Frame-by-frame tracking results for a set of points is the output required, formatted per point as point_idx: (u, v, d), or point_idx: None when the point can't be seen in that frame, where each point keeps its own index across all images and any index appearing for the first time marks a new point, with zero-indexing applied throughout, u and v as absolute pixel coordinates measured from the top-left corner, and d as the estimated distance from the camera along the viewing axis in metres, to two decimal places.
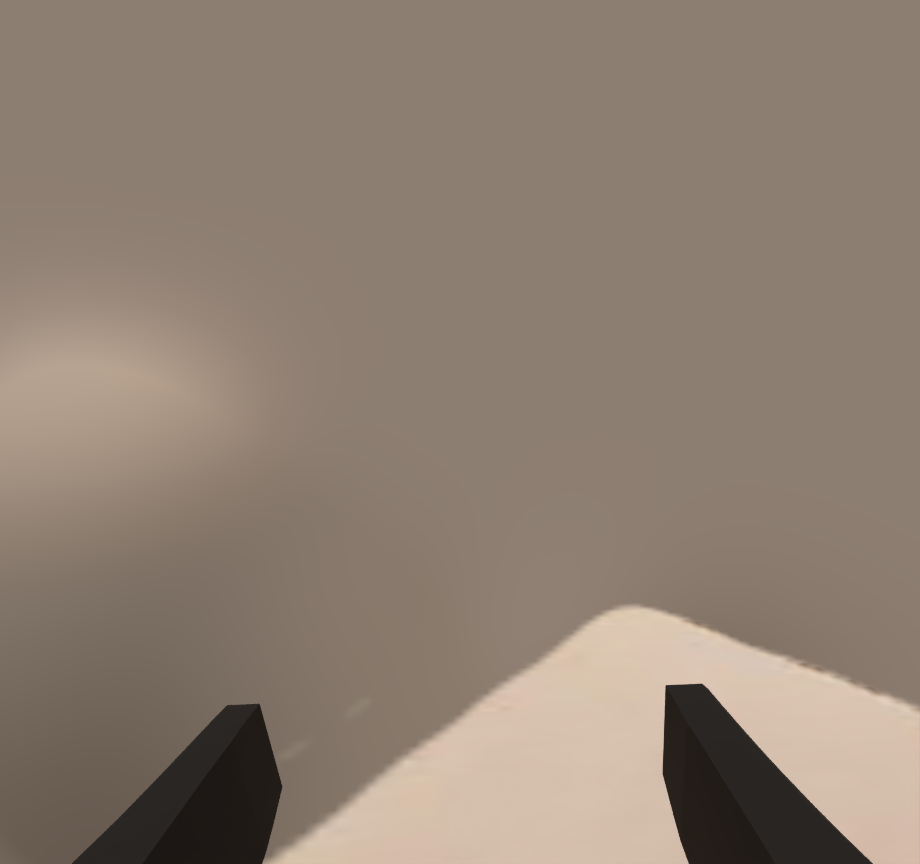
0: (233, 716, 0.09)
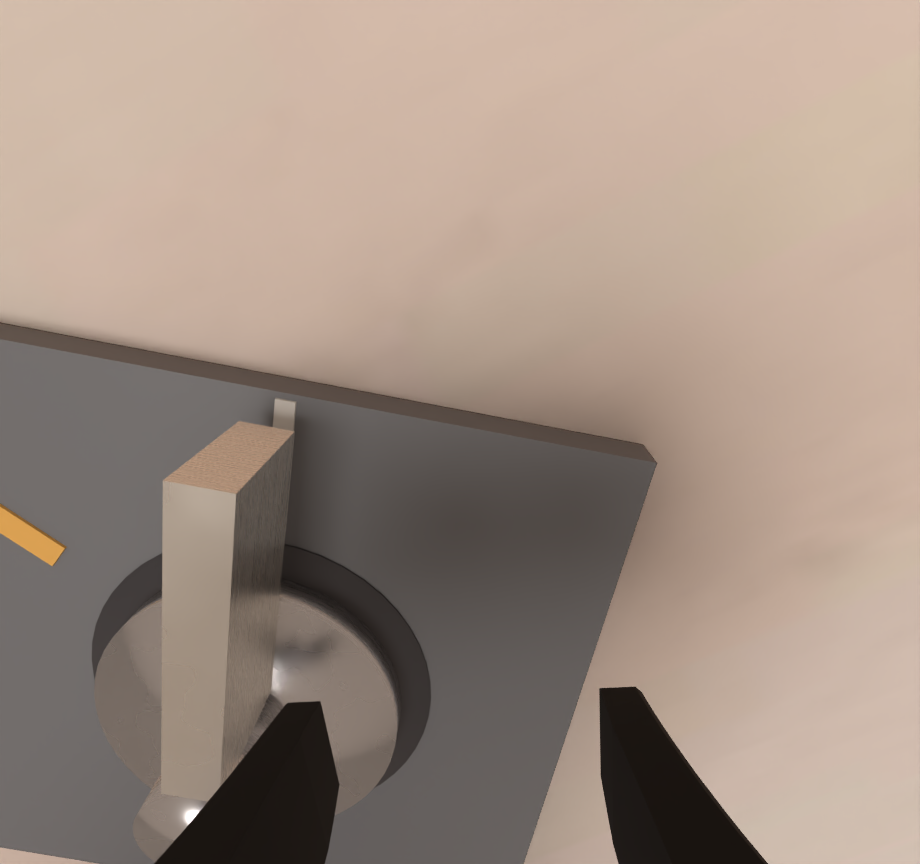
0: (296, 714, 0.09)
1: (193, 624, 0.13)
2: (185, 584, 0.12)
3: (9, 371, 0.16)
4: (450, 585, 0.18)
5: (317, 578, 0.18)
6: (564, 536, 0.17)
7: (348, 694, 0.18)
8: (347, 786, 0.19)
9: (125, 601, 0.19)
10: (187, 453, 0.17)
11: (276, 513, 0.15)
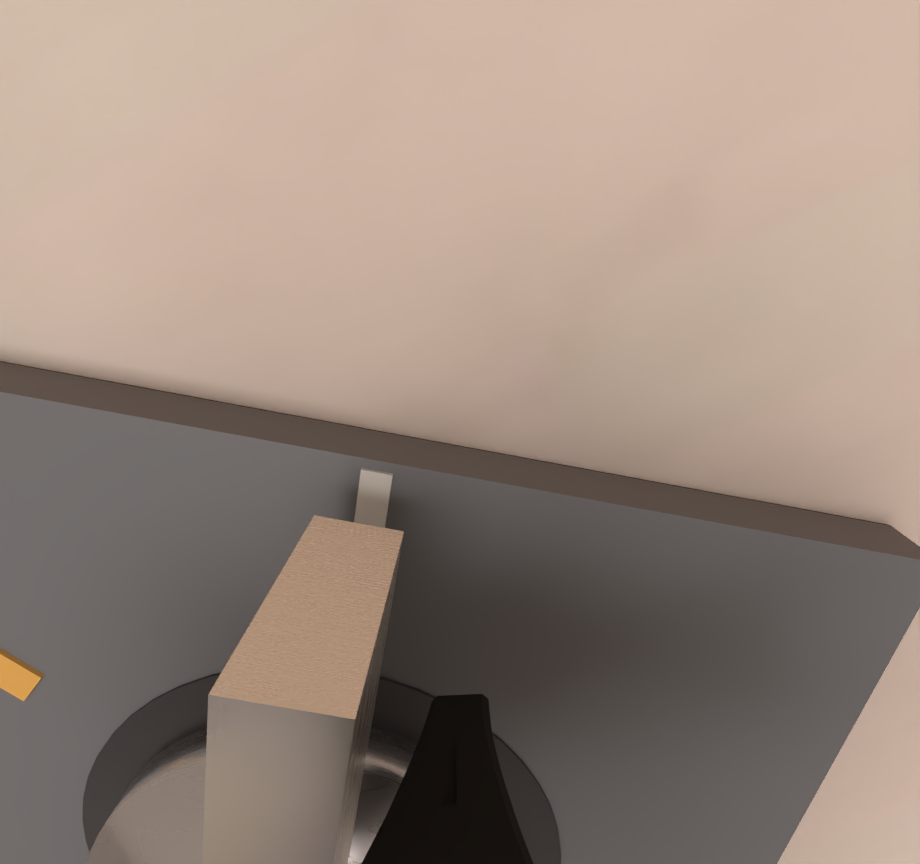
0: (453, 707, 0.09)
1: None
2: (246, 862, 0.07)
3: None
4: (603, 729, 0.12)
5: (410, 720, 0.12)
6: (782, 665, 0.12)
7: None
8: None
9: (130, 747, 0.13)
10: (223, 547, 0.11)
11: (378, 669, 0.09)
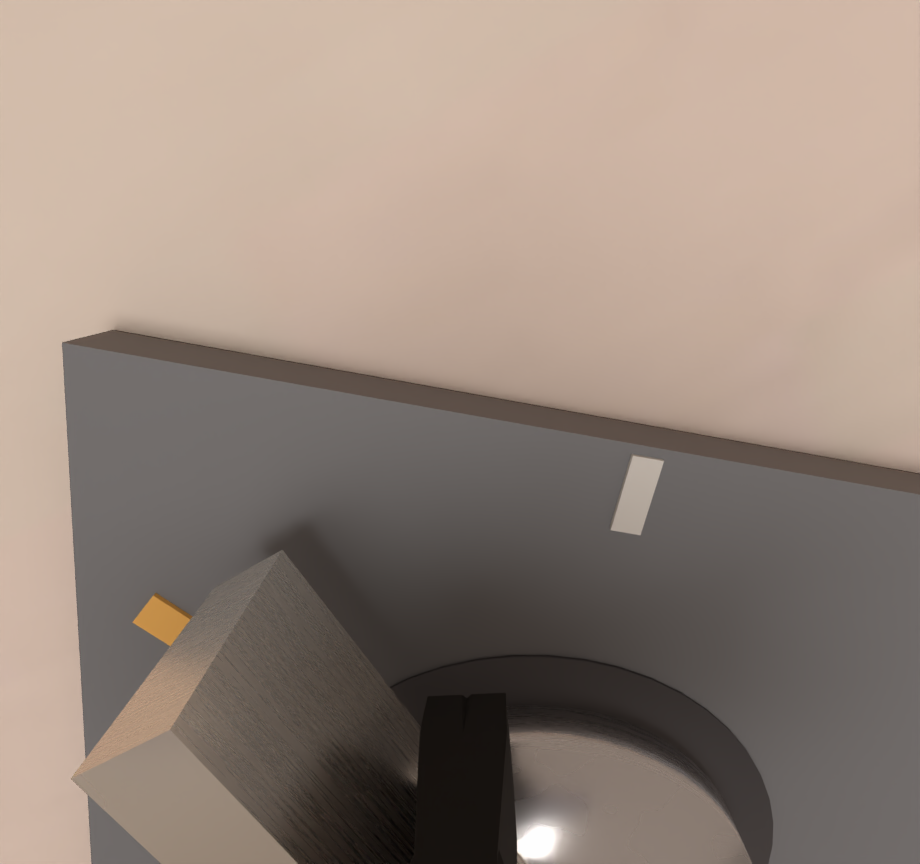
0: (489, 706, 0.09)
1: None
2: None
3: (221, 418, 0.11)
4: (833, 716, 0.13)
5: (641, 709, 0.12)
6: None
7: (625, 815, 0.12)
8: None
9: None
10: (477, 536, 0.11)
11: (332, 671, 0.09)
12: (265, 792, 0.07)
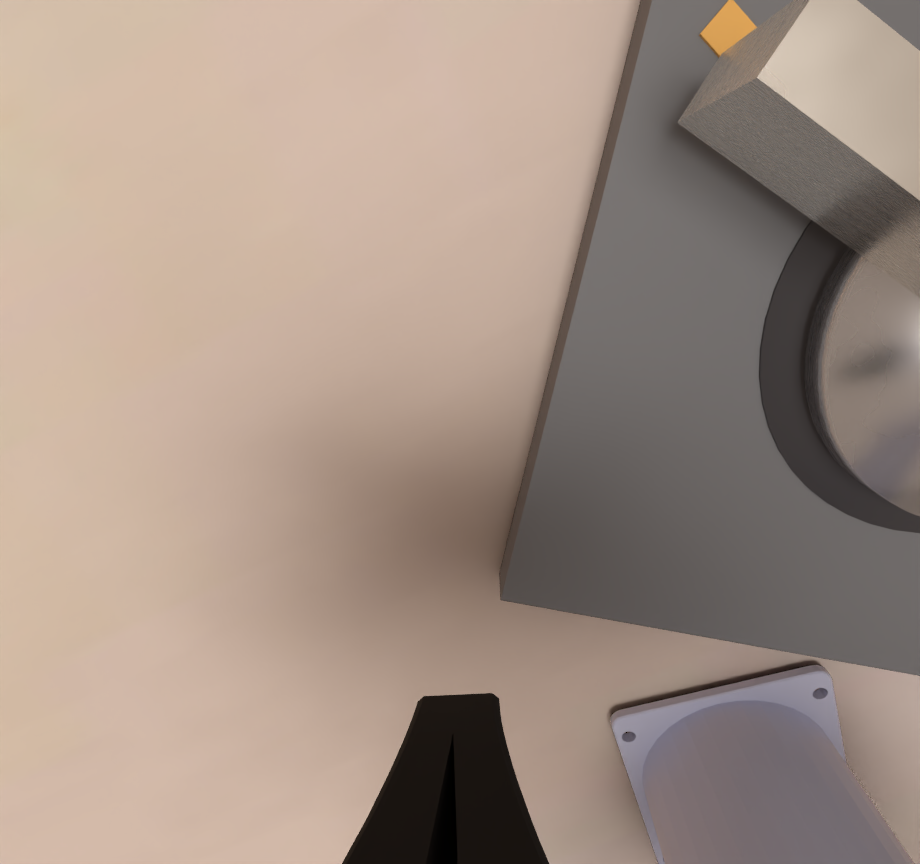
0: (439, 708, 0.09)
1: None
2: (898, 136, 0.09)
3: None
4: None
5: None
6: None
7: None
8: None
9: None
10: None
11: None
12: None
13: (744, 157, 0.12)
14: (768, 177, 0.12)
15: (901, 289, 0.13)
